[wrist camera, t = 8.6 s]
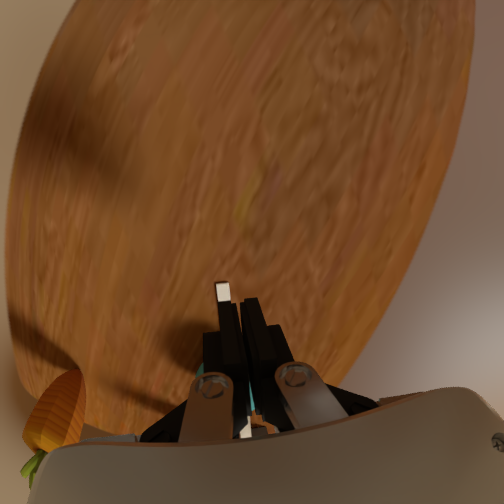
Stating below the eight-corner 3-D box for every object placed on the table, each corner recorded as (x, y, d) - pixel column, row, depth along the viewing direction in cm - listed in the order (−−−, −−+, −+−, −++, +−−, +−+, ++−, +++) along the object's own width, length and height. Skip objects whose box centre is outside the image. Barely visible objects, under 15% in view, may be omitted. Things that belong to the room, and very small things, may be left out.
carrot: (79, 345, 22) (21, 470, 8) (109, 381, 24) (76, 507, 10) (50, 358, 22) (-5, 467, 8) (79, 391, 24) (43, 502, 10)
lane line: (216, 283, 23) (216, 284, 22) (228, 282, 23) (228, 283, 23) (227, 368, 25) (227, 370, 25) (237, 367, 26) (237, 368, 25)
